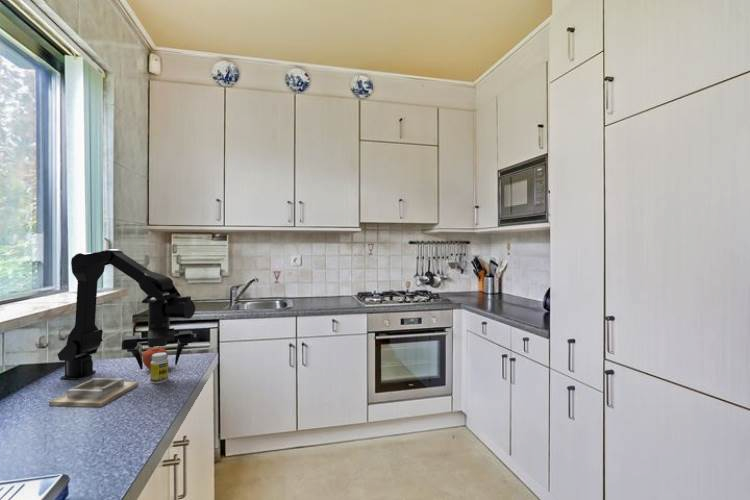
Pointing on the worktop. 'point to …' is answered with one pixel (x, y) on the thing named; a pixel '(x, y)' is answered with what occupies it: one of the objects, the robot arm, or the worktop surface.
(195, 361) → the worktop surface
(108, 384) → the carrier plate
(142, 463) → the worktop surface
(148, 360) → the apple
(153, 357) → the supplement bottle
